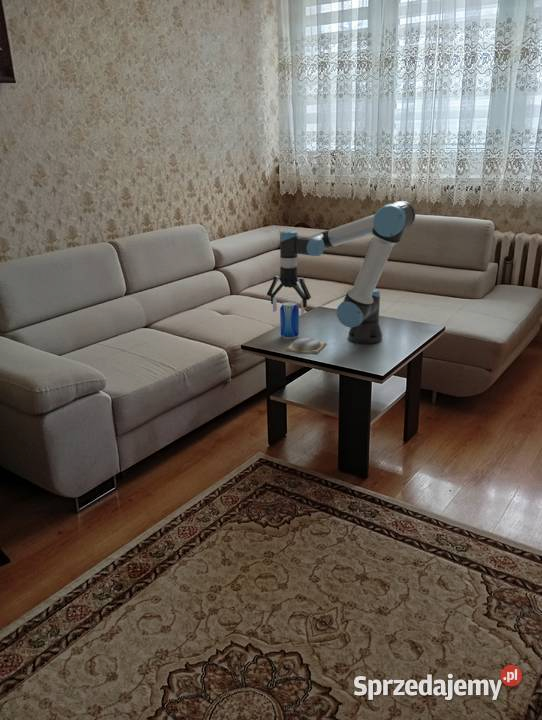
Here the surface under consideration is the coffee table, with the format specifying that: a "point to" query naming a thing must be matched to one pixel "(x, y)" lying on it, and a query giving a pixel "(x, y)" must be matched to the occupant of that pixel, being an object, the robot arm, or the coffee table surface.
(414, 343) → the coffee table surface
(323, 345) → the hub board
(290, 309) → the beer can
